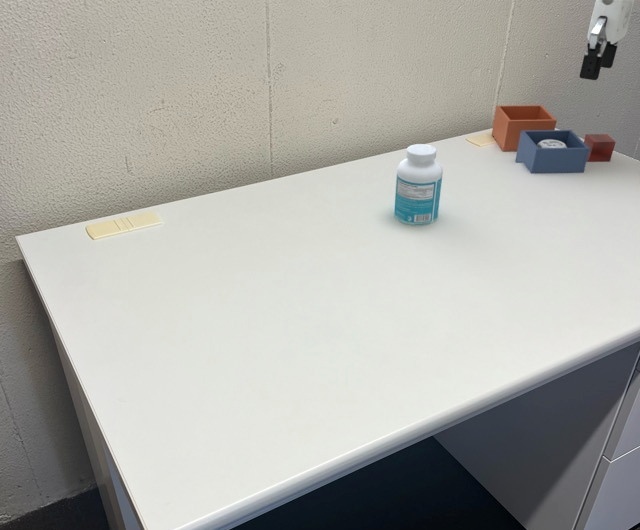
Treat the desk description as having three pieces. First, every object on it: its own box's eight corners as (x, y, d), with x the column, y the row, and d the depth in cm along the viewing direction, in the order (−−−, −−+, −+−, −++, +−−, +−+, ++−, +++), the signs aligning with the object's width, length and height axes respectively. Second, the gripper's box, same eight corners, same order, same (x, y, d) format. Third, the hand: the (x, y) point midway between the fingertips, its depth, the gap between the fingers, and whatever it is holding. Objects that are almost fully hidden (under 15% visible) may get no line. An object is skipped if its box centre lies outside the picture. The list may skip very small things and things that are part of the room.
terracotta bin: (535, 134, 140) (541, 105, 136) (549, 150, 132) (556, 120, 128) (491, 134, 140) (496, 105, 136) (503, 151, 132) (508, 120, 128)
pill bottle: (412, 210, 109) (419, 136, 101) (445, 224, 105) (455, 149, 97) (384, 224, 105) (388, 148, 97) (417, 239, 101) (425, 161, 93)
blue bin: (563, 160, 127) (571, 129, 123) (581, 181, 119) (590, 148, 115) (515, 161, 127) (521, 130, 123) (529, 181, 119) (536, 149, 115)
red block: (601, 154, 130) (607, 133, 127) (609, 162, 126) (615, 141, 123) (580, 154, 130) (585, 134, 127) (588, 163, 126) (593, 142, 123)
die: (530, 163, 125) (535, 139, 122) (554, 162, 125) (559, 138, 122) (539, 173, 121) (545, 148, 118) (564, 172, 121) (570, 147, 118)
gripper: (632, -24, 97) (603, 87, 107) (656, -36, 108) (627, 65, 118) (584, -27, 100) (561, 80, 111) (612, -39, 112) (588, 60, 122)
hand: (595, 72), depth 115 cm, fingers open, 9 cm apart
